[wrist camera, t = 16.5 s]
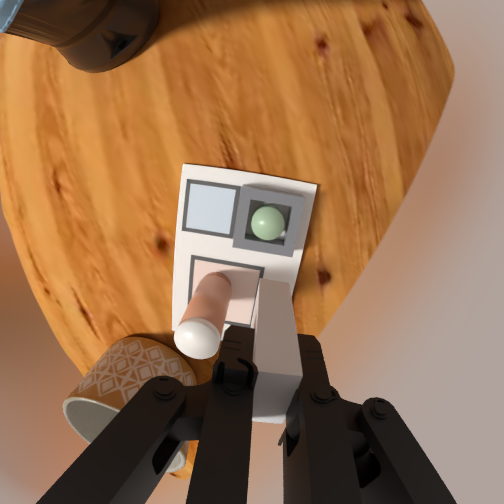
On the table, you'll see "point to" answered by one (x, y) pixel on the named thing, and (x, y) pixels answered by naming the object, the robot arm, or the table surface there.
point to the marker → (204, 317)
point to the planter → (123, 386)
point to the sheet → (229, 238)
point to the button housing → (292, 225)
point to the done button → (267, 222)
